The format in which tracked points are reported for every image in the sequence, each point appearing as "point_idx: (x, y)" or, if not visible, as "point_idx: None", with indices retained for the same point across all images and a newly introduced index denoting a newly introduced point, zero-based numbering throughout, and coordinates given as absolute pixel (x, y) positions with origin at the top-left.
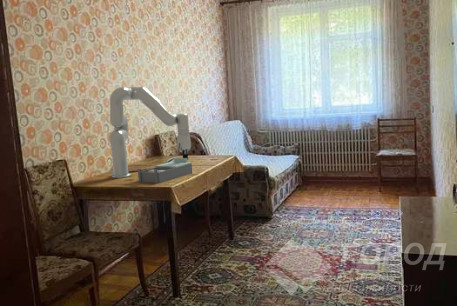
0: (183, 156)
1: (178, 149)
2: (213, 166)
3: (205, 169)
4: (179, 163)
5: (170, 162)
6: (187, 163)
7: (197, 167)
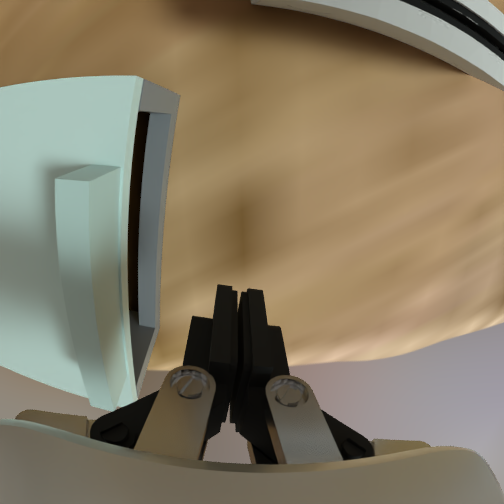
0: (185, 350)
1: (17, 434)
2: (471, 324)
3: (377, 333)
4: (25, 317)
5: (48, 122)
6: (67, 390)
7: (476, 224)
